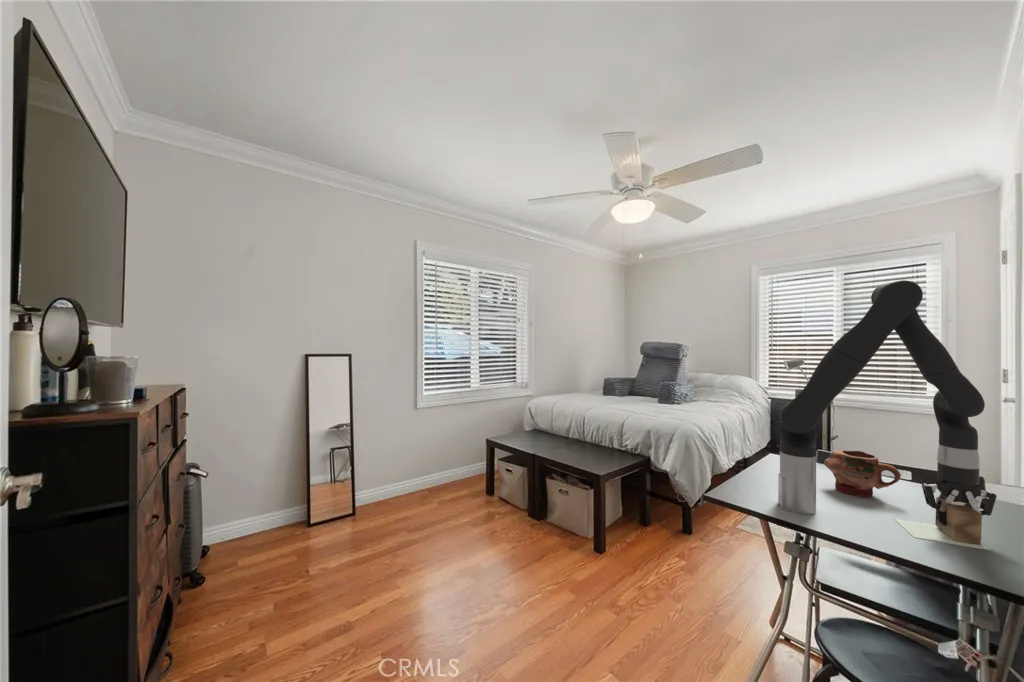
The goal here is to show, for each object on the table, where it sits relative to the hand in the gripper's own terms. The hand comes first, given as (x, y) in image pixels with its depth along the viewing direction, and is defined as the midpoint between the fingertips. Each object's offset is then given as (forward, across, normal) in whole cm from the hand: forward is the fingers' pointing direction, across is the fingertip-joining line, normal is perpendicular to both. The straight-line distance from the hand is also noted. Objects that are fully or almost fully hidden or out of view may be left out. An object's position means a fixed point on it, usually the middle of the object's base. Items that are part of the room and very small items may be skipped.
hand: (957, 526), depth 107 cm
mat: (+3, -4, 0) cm, 5 cm away
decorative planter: (+3, -13, +27) cm, 30 cm away
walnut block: (+2, 0, 0) cm, 2 cm away
